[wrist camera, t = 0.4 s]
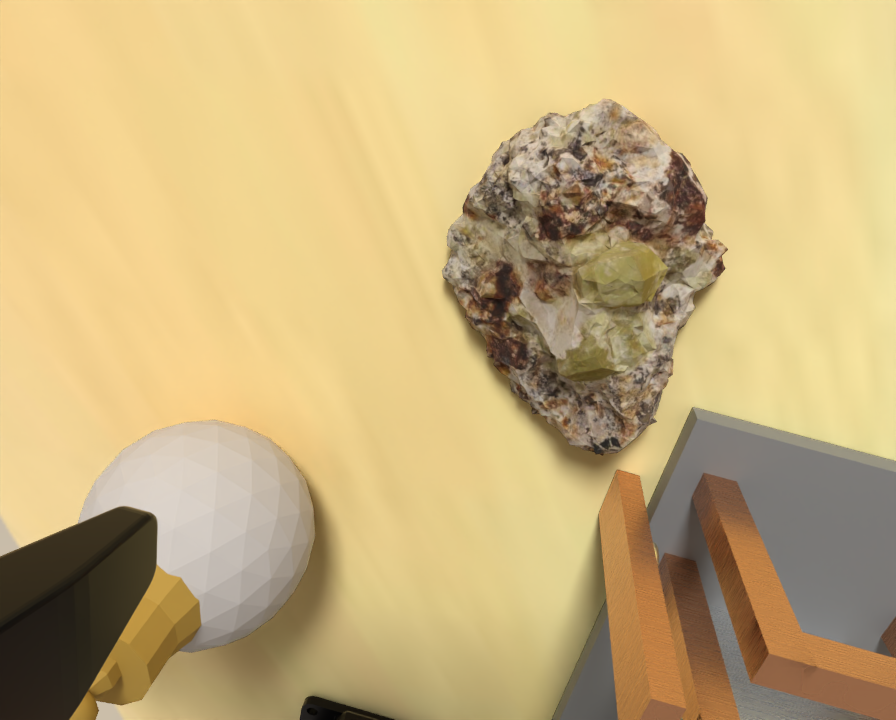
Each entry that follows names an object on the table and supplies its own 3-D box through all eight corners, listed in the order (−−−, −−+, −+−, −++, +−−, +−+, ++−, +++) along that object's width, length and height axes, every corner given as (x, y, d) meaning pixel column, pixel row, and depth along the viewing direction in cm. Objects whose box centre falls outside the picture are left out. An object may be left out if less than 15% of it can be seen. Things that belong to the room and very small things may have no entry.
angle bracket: (968, 572, 21) (1152, 797, 15) (692, 496, 21) (750, 682, 15) (986, 549, 21) (1183, 770, 14) (703, 472, 21) (768, 653, 15)
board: (740, 872, 30) (744, 891, 30) (513, 804, 31) (512, 822, 30) (1032, 497, 21) (1049, 513, 20) (692, 407, 21) (697, 418, 20)
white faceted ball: (353, 553, 26) (208, 903, 15) (135, 546, 28) (-137, 856, 17) (321, 384, 23) (110, 671, 12) (78, 389, 25) (-297, 643, 14)
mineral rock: (388, 141, 17) (716, 89, 13) (453, 115, 20) (728, 68, 17) (461, 474, 21) (723, 501, 18) (505, 407, 25) (732, 418, 21)
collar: (912, 645, 23) (1054, 878, 16) (654, 573, 23) (693, 772, 16) (927, 625, 22) (1081, 856, 16) (664, 552, 23) (708, 748, 16)
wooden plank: (627, 522, 23) (666, 766, 15) (598, 514, 23) (621, 753, 15) (647, 478, 22) (699, 712, 14) (616, 469, 22) (651, 698, 14)
